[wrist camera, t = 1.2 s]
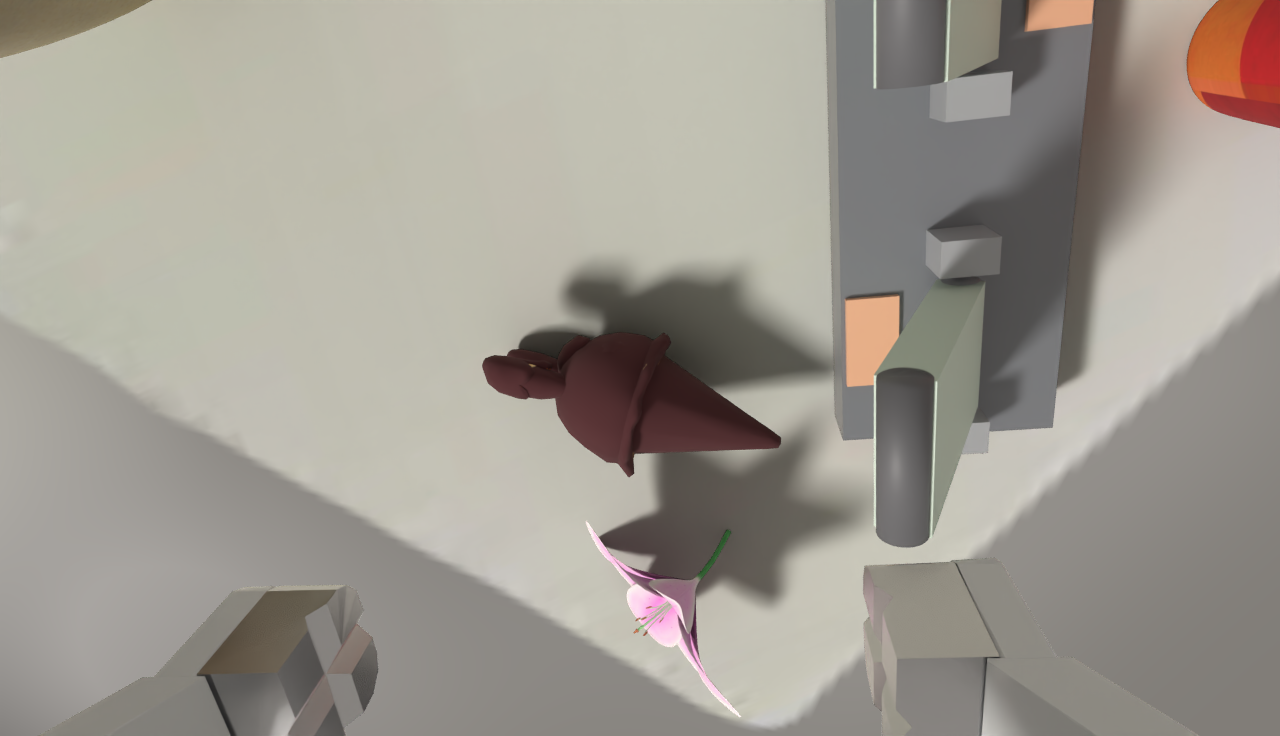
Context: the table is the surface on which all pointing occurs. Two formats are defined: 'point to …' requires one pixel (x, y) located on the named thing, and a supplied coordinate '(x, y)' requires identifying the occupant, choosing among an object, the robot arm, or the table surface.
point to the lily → (667, 608)
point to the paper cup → (1238, 60)
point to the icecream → (628, 398)
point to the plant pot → (54, 20)
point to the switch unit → (957, 205)
